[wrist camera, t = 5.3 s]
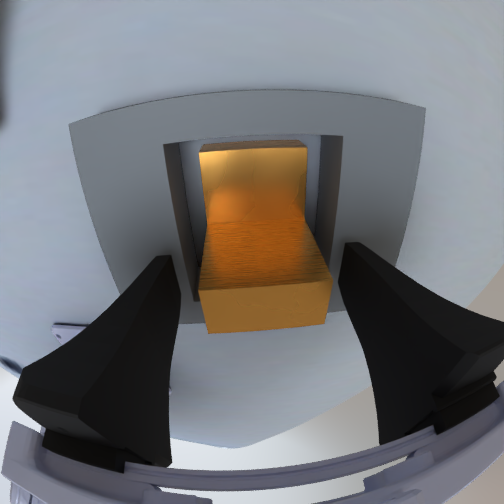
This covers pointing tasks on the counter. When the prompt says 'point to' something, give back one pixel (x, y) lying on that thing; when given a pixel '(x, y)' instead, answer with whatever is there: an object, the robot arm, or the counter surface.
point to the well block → (246, 124)
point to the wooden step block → (259, 239)
